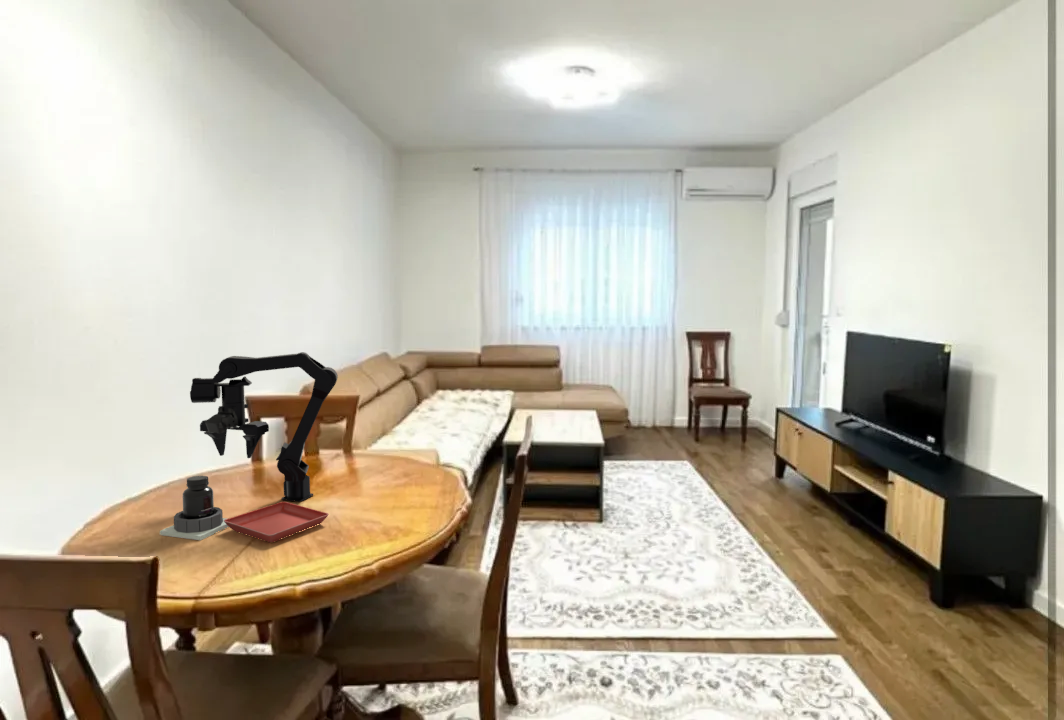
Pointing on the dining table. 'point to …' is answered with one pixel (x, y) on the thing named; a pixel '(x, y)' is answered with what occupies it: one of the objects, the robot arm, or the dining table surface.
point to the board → (196, 536)
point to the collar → (198, 522)
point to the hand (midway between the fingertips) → (235, 456)
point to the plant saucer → (276, 521)
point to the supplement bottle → (198, 498)
